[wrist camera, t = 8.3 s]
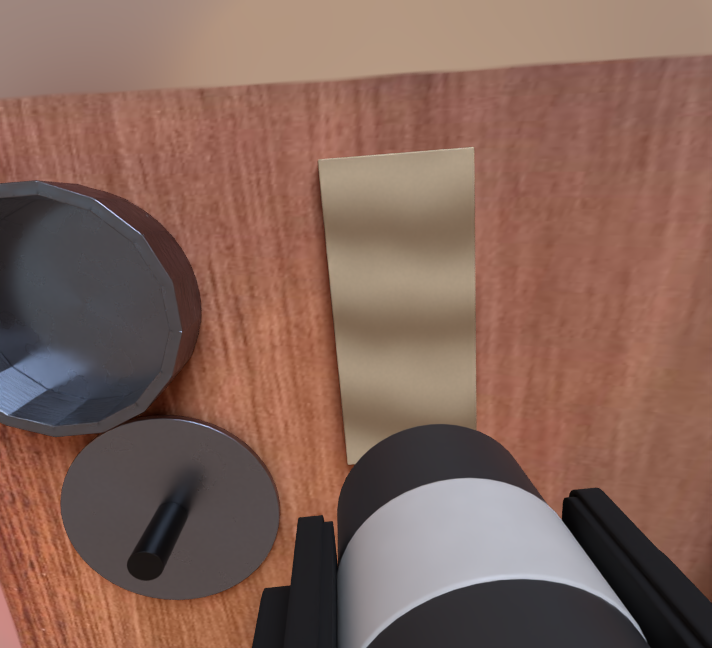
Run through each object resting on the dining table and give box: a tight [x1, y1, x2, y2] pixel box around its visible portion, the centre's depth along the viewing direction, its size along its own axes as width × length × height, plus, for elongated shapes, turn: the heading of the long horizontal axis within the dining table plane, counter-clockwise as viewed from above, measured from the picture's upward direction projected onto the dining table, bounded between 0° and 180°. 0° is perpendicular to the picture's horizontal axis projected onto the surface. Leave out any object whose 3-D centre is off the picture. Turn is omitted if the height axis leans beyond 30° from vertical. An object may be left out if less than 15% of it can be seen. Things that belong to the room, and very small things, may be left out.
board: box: [318, 147, 476, 465], centre depth 31 cm, size 22×10×2 cm, turn 5°
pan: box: [0, 180, 201, 437], centre depth 28 cm, size 16×16×4 cm
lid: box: [61, 415, 280, 600], centre depth 32 cm, size 17×17×6 cm
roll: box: [337, 424, 651, 648], centre depth 8 cm, size 5×5×7 cm
